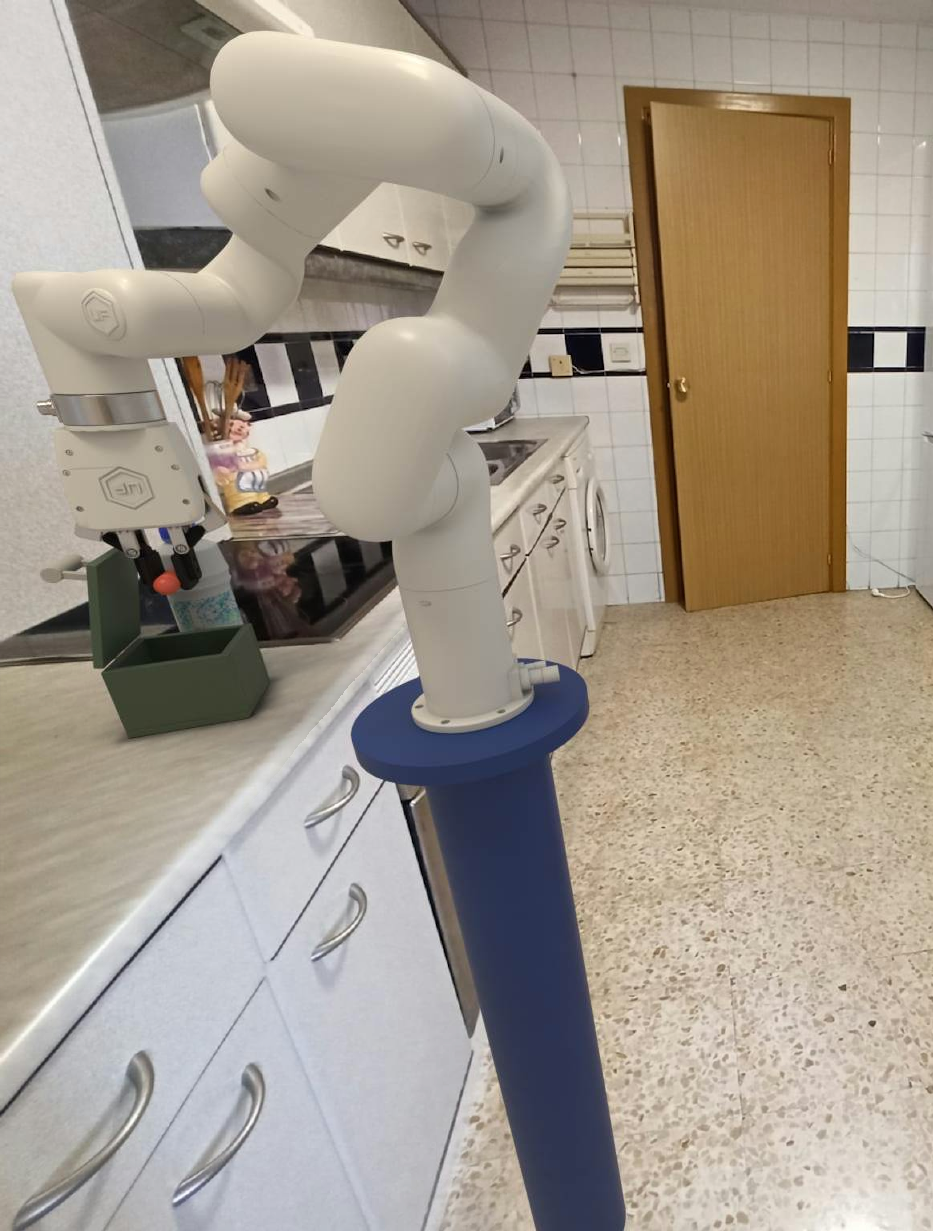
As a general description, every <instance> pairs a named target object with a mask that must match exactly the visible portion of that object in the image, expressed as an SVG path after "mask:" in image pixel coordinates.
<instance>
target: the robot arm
mask: <svg viewBox="0 0 933 1231" xmlns="http://www.w3.org/2000/svg"><path fill="white" fill-rule="evenodd" d="M209 88H210V96H211V100H212V103H213V105H214V109H215V112H216V114H217V116H218V117H219V120H220V122H221V123H222V125H223V127H224V128H225V129H226V130H227V131H228V132H229V134H230V135H231V136H232V137H233V138H232V139H231V141H230V142H228V143H227V145H226V146H224V148H223V149H222V150H220V152H219V153H218V154H217V155H216V156H215V157H214V158H213V159H212V160H211V161H210V162H209V163H208V164H207V165H206V166H205V167H204V168H203V170H202V172H201V173H200V179H199V185H200V189H201V193H202V195H203V198H204V200H205V201H206V203H207V204H208V206H209V207H210V208H211V210H212V212H213V213H214V214H215V215H216V217H217V218H218V220H220V221H221V223H222V224H223V225H224V226H225V227H226V228H227V229H228V230H229V231H230V232H231V233H232V236H231V237H230V239H229V241H228V242H227V244H226V245H225V247H223V249H222V250H220V252H219V253H218V254H217V255H216V256H215V257H214V258H213V259H211V261H210V262H208V264H207V265H205V266H204V267H203V268H202V269H200V270H199V271H197V272H196V273H195V272H194V273H193V272H185V271H184V272H183V271H168V270H167V271H166V270H152V269H136V268H135V269H134V268H100V269H93V270H88V271H83V272H82V271H62V270H26V271H22V272H18V273H16V274H15V275H13V277H12V279H11V282H10V286H11V291H12V295H13V297H14V300H15V303H16V305H17V307H18V311H19V314H20V315H21V318H22V321H23V324H24V326H25V328H26V332H27V334H28V336H29V339H30V342H31V344H32V348H33V349H34V352H35V354H36V358H37V360H38V363H39V365H40V367H41V371H42V372H43V376H44V378H45V381H46V383H47V387H48V389H49V391H50V393H51V394H49V395H48V396H49V398H47V399H46V400H38V401H37V402H36V408H37V411H38V412H39V414H40V415H42V416H52V417H57V419H58V422H59V424H63V427H60V428H55V429H53V432H52V433H53V444H54V450H55V455H56V460H57V466H58V471H59V475H60V479H61V483H62V487H63V491H64V493H65V497H66V500H67V503H68V506H69V509H70V512H71V515H72V517H73V519H74V521H75V525H74V535H75V536H76V537H77V538H80V539H85V540H89V541H95V542H102V543H105V544H107V545H108V546H111V547H112V548H116V549H118V550H120V551H122V552H124V554H125V555H126V556H127V557H129V558H133V560H134V563H135V566H136V568H137V571H138V577H139V579H140V582H141V584H142V585H144V586H146V585H147V587H148V590H149V592H150V594H151V595H155V594H156V595H157V594H159V593H158V592H157V591H155V589H154V587H153V583H154V581H155V580H156V579H157V578H158V577H159V576H160V575H162V574H163V573H164V572H165V568H164V566H163V563H162V560H161V557H160V554H159V552H158V551H156V550H154V549H153V547H152V546H151V545H150V543H149V540H148V537H147V534H146V532H145V530H148V529H149V530H150V529H158V528H162V527H166V528H167V531H168V533H169V536H170V539H171V542H172V545H173V551H174V554H173V555H171V561H172V564H173V567H174V570H175V572H176V575H177V578H178V580H179V581H180V587H181V589H182V590H183V589H184V590H192V589H193V588H194V587H195V586H196V585H197V584H198V583H199V579H201V577H202V572H201V569H200V566H199V563H198V560H197V557H196V554H195V551H194V546H196V544H197V543H198V542H199V541H200V539H201V538H202V539H203V537H204V536H205V535H206V534H209V533H211V532H214V531H217V530H218V529H220V528H222V527H224V526H225V525H226V524H228V522H229V518H228V517H227V516H226V515H225V513H224V512H223V511H222V510H221V509H220V508H219V507H218V506H217V505H216V503H215V502H214V501H213V498H212V495H211V491H210V489H209V486H208V484H207V481H206V478H205V476H204V474H203V471H202V469H201V467H200V464H199V462H198V460H197V458H196V456H195V453H194V451H193V450H192V448H191V446H190V444H189V443H188V440H187V439H186V437H185V435H184V433H183V432H182V430H181V428H180V427H179V425H178V423H177V422H174V421H168V418H167V414H166V411H165V408H164V405H163V401H162V399H161V396H160V393H159V390H158V387H157V384H156V383H157V382H156V381H155V377H154V375H153V371H152V368H151V366H150V362H149V360H156V359H157V360H158V359H160V360H161V359H174V358H183V357H184V358H185V357H201V356H202V357H204V356H222V355H231V354H234V353H237V352H240V351H242V350H245V349H247V348H248V347H250V346H252V345H253V344H255V343H256V342H257V341H259V340H260V339H261V338H262V337H263V336H264V335H266V334H267V333H268V332H269V331H270V330H271V329H272V328H273V327H274V326H275V325H276V324H277V323H278V322H280V321H281V320H282V319H283V318H284V317H285V316H286V315H287V314H288V312H290V311H291V309H292V308H293V306H294V305H295V304H296V302H297V300H298V298H299V296H300V292H301V288H302V285H303V281H304V277H305V271H306V270H305V269H306V268H305V267H306V266H305V261H306V258H307V257H308V255H309V254H310V253H311V252H312V251H313V250H314V249H315V248H316V247H317V246H318V245H319V244H320V243H322V241H324V240H325V239H326V238H327V236H328V235H329V234H331V232H333V230H335V229H336V228H337V227H338V226H339V225H340V224H341V223H342V222H343V221H344V220H345V219H346V218H347V217H348V216H349V215H350V214H352V212H353V211H354V210H355V209H357V208H358V207H359V206H360V205H361V204H362V203H363V202H364V201H365V200H366V199H367V198H368V197H369V196H370V195H371V194H373V192H374V191H375V190H376V189H378V188H379V186H381V184H383V183H385V184H386V183H387V184H393V185H397V186H405V187H408V188H413V189H414V188H415V189H418V190H423V191H426V192H427V191H428V192H431V193H434V194H438V195H441V196H445V197H448V198H451V199H454V200H457V201H460V202H464V203H468V204H470V205H471V206H472V207H473V209H474V217H473V220H472V221H471V222H472V223H471V224H470V226H469V228H468V229H467V231H465V233H464V234H463V235H462V237H461V238H460V239H459V241H458V242H457V244H456V245H455V248H454V249H453V251H452V252H451V254H450V256H449V258H448V261H447V263H446V266H445V269H444V272H443V276H442V280H441V282H440V285H439V287H438V290H437V292H436V294H435V297H434V299H433V301H432V303H431V306H430V307H429V309H428V310H427V312H426V313H425V314H424V315H422V316H402V317H394V318H391V319H387V320H383V321H381V322H379V323H377V324H375V325H373V326H372V327H371V328H370V329H368V330H367V331H366V332H365V333H363V334H362V336H360V337H359V338H358V340H357V341H356V343H354V345H353V347H352V348H351V350H350V351H349V353H348V355H347V357H346V360H345V361H344V364H343V367H342V370H341V373H340V376H339V379H338V381H337V385H336V388H335V391H334V394H333V397H332V400H331V403H330V406H329V409H328V412H327V416H326V419H325V421H324V425H323V428H322V430H321V433H320V436H319V440H318V442H317V443H318V444H317V446H316V450H315V453H314V457H313V461H312V468H311V487H312V492H313V496H314V500H315V502H316V504H317V507H318V508H319V511H320V512H321V514H322V516H323V517H324V518H325V519H326V521H328V523H329V524H330V525H331V526H333V527H334V528H335V529H336V530H338V531H339V532H340V533H341V534H344V535H345V536H348V537H350V538H352V539H354V540H355V539H356V540H359V541H362V542H363V541H364V542H369V543H383V542H390V541H391V545H392V546H391V550H392V560H393V561H392V562H393V569H394V574H395V577H396V581H397V586H398V590H399V593H400V594H399V595H400V598H401V603H402V608H403V612H404V616H405V619H406V620H405V621H406V624H407V628H408V632H409V636H410V641H411V645H412V649H413V653H414V657H415V663H416V667H417V670H418V675H419V677H420V679H421V683H422V688H423V692H424V693H423V694H422V695H421V696H419V698H418V699H417V700H416V701H415V702H414V704H413V706H412V711H411V713H412V716H413V720H414V722H415V723H416V725H417V726H419V727H420V728H422V729H424V730H427V731H430V732H436V733H446V734H455V733H466V732H473V731H478V730H482V729H486V728H490V727H493V726H496V725H499V724H501V723H504V722H506V721H508V720H510V719H512V718H514V717H516V716H517V715H519V714H520V713H522V712H523V711H524V710H525V709H526V708H527V707H528V706H529V705H530V704H531V703H532V701H533V699H534V688H533V685H537V684H543V683H544V684H547V683H553V682H558V681H560V677H559V671H558V666H557V665H555V666H549V667H546V662H545V661H539V662H534V663H530V664H524V662H522V663H518V660H517V658H518V656H517V652H513V648H512V642H511V636H510V631H509V626H508V620H507V614H506V609H505V603H504V598H503V592H502V587H501V586H502V585H501V580H500V574H499V568H498V562H497V557H496V551H495V544H494V536H493V530H492V527H493V526H492V509H491V508H492V506H491V505H492V502H491V501H492V500H491V498H492V494H491V491H492V490H491V475H490V468H489V465H488V461H487V459H486V456H485V453H484V452H483V450H482V448H481V447H480V444H479V443H478V442H477V441H476V440H475V438H474V437H473V436H472V435H470V434H469V433H468V432H467V431H466V430H464V429H467V428H470V427H473V426H476V425H479V424H480V425H481V424H483V423H485V422H487V421H490V420H492V419H494V418H496V417H497V416H499V415H500V414H502V412H503V411H504V410H505V409H506V407H507V406H508V404H509V403H510V400H511V399H512V396H513V394H514V391H515V389H516V387H517V384H518V381H519V378H520V376H521V374H522V371H523V368H524V366H525V364H526V361H527V359H528V356H529V354H530V351H531V350H532V347H533V344H534V341H535V339H536V337H537V334H538V332H539V331H540V330H539V329H540V326H541V325H542V321H543V318H544V315H545V312H546V310H547V308H548V305H549V304H550V301H551V298H552V296H553V294H554V292H555V289H556V287H557V285H558V283H559V281H560V278H561V275H562V273H563V270H564V268H565V265H566V262H567V260H568V257H569V253H570V249H571V246H572V242H573V240H572V239H573V235H574V223H575V221H574V220H575V219H574V217H575V216H574V204H573V198H572V193H571V189H570V186H569V183H568V179H567V176H566V175H565V172H564V170H563V168H562V166H561V163H560V161H559V160H558V158H557V157H556V156H557V155H556V154H555V153H554V151H553V150H552V148H551V147H550V145H549V144H548V142H547V141H546V140H545V138H544V137H543V136H542V134H541V133H540V132H539V131H538V130H537V129H536V127H535V126H534V125H533V124H531V122H529V120H528V119H526V117H524V115H522V114H521V113H520V112H519V111H518V110H516V109H514V107H512V106H511V105H509V104H507V103H506V102H505V101H504V100H502V98H501V99H500V98H499V97H498V96H496V95H495V94H493V93H491V92H490V91H488V90H486V89H485V88H482V87H481V86H479V85H478V84H476V83H474V82H473V81H472V80H470V79H468V78H467V77H465V76H464V75H462V74H461V73H459V72H457V71H456V70H454V69H452V68H450V67H449V66H447V65H444V64H443V63H441V62H438V61H437V60H434V59H431V58H429V57H426V56H422V55H419V54H415V53H411V52H407V51H401V50H398V49H397V50H395V49H391V48H384V47H377V46H371V45H365V44H358V43H351V42H344V41H337V40H331V39H326V38H319V37H314V36H307V35H301V34H295V33H289V32H283V31H276V30H275V31H274V30H254V31H249V32H245V33H241V34H239V35H237V36H235V37H234V38H232V39H230V40H229V41H227V43H225V45H223V47H221V48H220V50H219V51H218V53H217V55H216V56H215V58H214V61H213V64H212V67H211V69H210V76H209ZM203 517H204V519H203V520H201V519H202V518H203ZM200 520H201V521H200ZM193 523H195V525H194V526H192V525H191V524H193Z"/></svg>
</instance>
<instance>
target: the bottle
mask: <svg viewBox="0 0 933 1231" xmlns="http://www.w3.org/2000/svg"><path fill="white" fill-rule="evenodd" d="M195 524H196V522H195V523H193V524H191V525H192V526H194V525H195ZM157 530H158V534H159V536H160V539H161V541H162V542H163V543H162V544H160V545H158V546H157V547H155V548H154V549H153V550H156V551H158V552H159V554H160V557H161V560H162V563H163V566H164V568H165V571H166V570H168V569H169V568H170V567H172V566H173V564H172V561H171V555H173V554H174V551H173V545H172V542H171V539H170V536H169V533H168V531H167V528H166V527H162V528H157ZM194 551H195V554H196V557H197V560H198V563H199V566H200V569H201V572H202V577H201V579H199V583H198V584H197V585H196V586H195V587H194V588H193V589H192V590H184V589H183V590H182V589H181V588H179V589H178V590H177V591H176V592H175V593H173V594H170V595H166V597H167V600H168V603H169V604H168V605H169V606H170V608H171V611H172V614H173V617H174V620H175V622H176V625H177V628H178V630H179V632H187V631H195V630H203V629H210V628H218V627H226V626H234V625H241V624H244V621H243V618H242V616H241V613H240V609H239V606H238V604H237V600H236V598H235V594H234V591H233V589H232V586H231V579H232V575H231V574H230V566H229V564H228V563H227V560H226V559H225V557H224V555H223V554H222V551H221V550H220V547H219V545H218V544H217V542H215V541H213V540H210V539H205V538H203V537H202V538H201V539H200V541H199V542H198V543H197V544H196V546H194Z"/></svg>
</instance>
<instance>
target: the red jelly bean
mask: <svg viewBox="0 0 933 1231" xmlns="http://www.w3.org/2000/svg"><path fill="white" fill-rule="evenodd" d="M153 587H154V589H155V591H157V592H158V593H157V594H159V595H162V596H163V595H164V596H167V595H170V594H173V593H175V592H176V591H177V590H178V589H179V588H181V587H180V581H179V580H178V578H177V575H176V572H175V570H174V567H173V566H172V567H170V568H169V569H168V570H166V571H165V572H164V573H163V574H162V575H160V576H159V577H158V578H157V579H156V580H155V581H154V583H153Z"/></svg>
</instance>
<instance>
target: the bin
mask: <svg viewBox="0 0 933 1231" xmlns="http://www.w3.org/2000/svg"><path fill="white" fill-rule="evenodd" d="M255 633H256V632H255V630H254V627H253V623H251V622H250V623H243V624H241V625H234V626H226V627H218V628H210V629H203V630H195V631H187V632H180V631H179V632H171V633H164V634H157V635H156V634H155V635H150V636H148V635H147V636H140V637H137V638H136V639H135V640H134V641H133V642H132V643H131V644H130V645H129V646H128V647H126V648H125V649H124V650H123V651H122V652H121V653H120V654H119V655H118V656H117V657H116V658H115V659H114V660H113V661H111V662H110V663H109V664H108V665H107V666H106V667H105V668H104V669H103V670H102V671H101V672H100V675H101V677H102V680H103V682H104V684H105V687H106V689H107V691H108V694H109V696H110V699H111V701H112V703H113V705H114V707H115V710H116V712H117V715H118V716H119V719H120V721H121V725H122V727H123V728H124V731H125V733H126V736H127V738H128V739H133V738H139V737H146V736H150V735H156V734H162V733H169V732H175V731H180V730H185V729H191V728H198V727H203V726H210V725H215V724H221V723H226V722H233V721H240V720H245V719H250V717H251V715H252V714H253V713H254V710H255V709H256V707H257V705H258V704H259V702H260V700H261V698H262V697H263V695H264V693H265V692H266V690H267V688H268V686H269V684H270V683H271V679H270V678H271V677H270V676H269V672H268V668H267V667H266V664H265V661H264V657H263V655H262V650H261V648H260V645H259V643H258V639H257V636H256V634H255Z"/></svg>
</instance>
